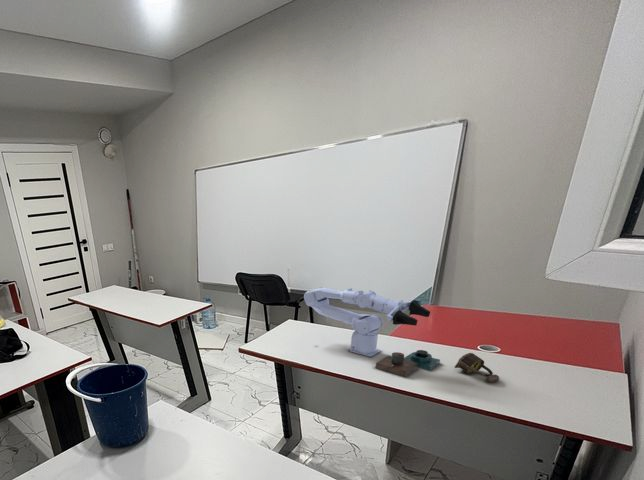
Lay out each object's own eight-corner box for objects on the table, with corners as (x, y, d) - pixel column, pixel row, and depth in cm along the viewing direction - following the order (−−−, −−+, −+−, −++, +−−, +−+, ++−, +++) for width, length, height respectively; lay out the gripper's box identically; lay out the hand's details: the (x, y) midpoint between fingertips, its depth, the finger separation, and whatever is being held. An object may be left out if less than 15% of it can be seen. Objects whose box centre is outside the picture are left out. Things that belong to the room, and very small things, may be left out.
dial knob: (388, 362, 136) (389, 353, 135) (394, 359, 138) (395, 350, 137) (399, 366, 133) (401, 356, 132) (405, 362, 135) (406, 353, 134)
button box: (401, 362, 141) (402, 354, 139) (411, 356, 144) (412, 348, 143) (429, 370, 133) (431, 362, 131) (439, 363, 137) (441, 355, 135)
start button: (414, 356, 138) (414, 352, 137) (418, 353, 140) (419, 349, 139) (424, 358, 135) (424, 354, 134) (428, 355, 137) (429, 351, 136)
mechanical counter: (483, 352, 129) (454, 348, 130) (510, 364, 117) (479, 360, 118) (475, 370, 132) (447, 367, 132) (502, 384, 119) (471, 380, 120)
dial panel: (375, 368, 139) (376, 362, 138) (387, 360, 143) (388, 354, 142) (405, 377, 130) (406, 370, 129) (417, 369, 135) (418, 362, 134)
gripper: (376, 304, 135) (412, 317, 124) (400, 290, 139) (437, 301, 129) (374, 320, 139) (409, 333, 129) (397, 305, 144) (432, 317, 133)
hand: (423, 318), depth 129 cm, fingers open, 7 cm apart
